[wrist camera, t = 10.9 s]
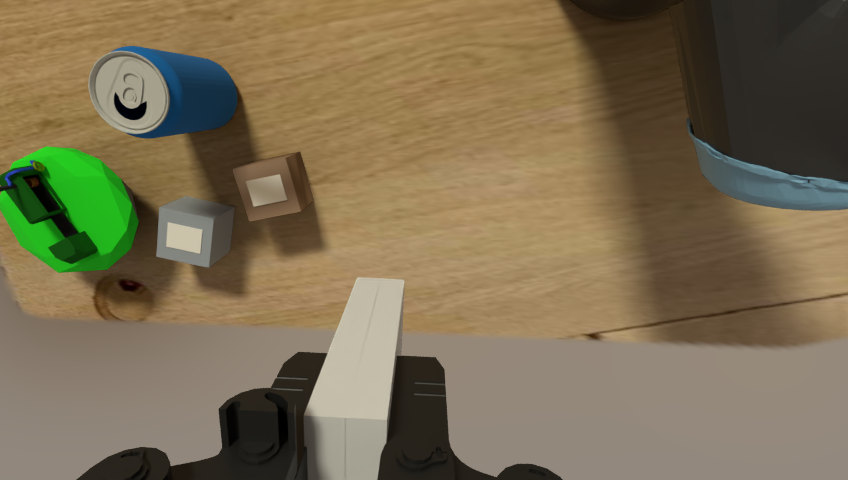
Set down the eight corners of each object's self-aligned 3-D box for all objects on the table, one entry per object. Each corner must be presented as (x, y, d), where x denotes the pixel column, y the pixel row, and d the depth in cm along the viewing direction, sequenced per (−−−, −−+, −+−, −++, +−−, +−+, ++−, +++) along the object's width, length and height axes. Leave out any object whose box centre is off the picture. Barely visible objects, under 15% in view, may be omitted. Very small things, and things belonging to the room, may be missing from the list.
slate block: (186, 195, 47) (158, 207, 42) (235, 206, 47) (213, 219, 42) (183, 240, 48) (155, 256, 43) (230, 251, 48) (208, 268, 44)
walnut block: (252, 161, 46) (231, 169, 41) (300, 151, 45) (285, 158, 40) (267, 209, 47) (248, 222, 42) (313, 199, 47) (300, 211, 42)
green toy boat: (23, 174, 46) (-98, 197, 36) (115, 123, 44) (16, 131, 34) (96, 274, 49) (4, 321, 39) (185, 230, 48) (113, 267, 37)
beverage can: (169, 118, 44) (79, 125, 33) (177, 49, 42) (84, 31, 31) (235, 137, 45) (169, 150, 33) (245, 69, 43) (179, 59, 31)
